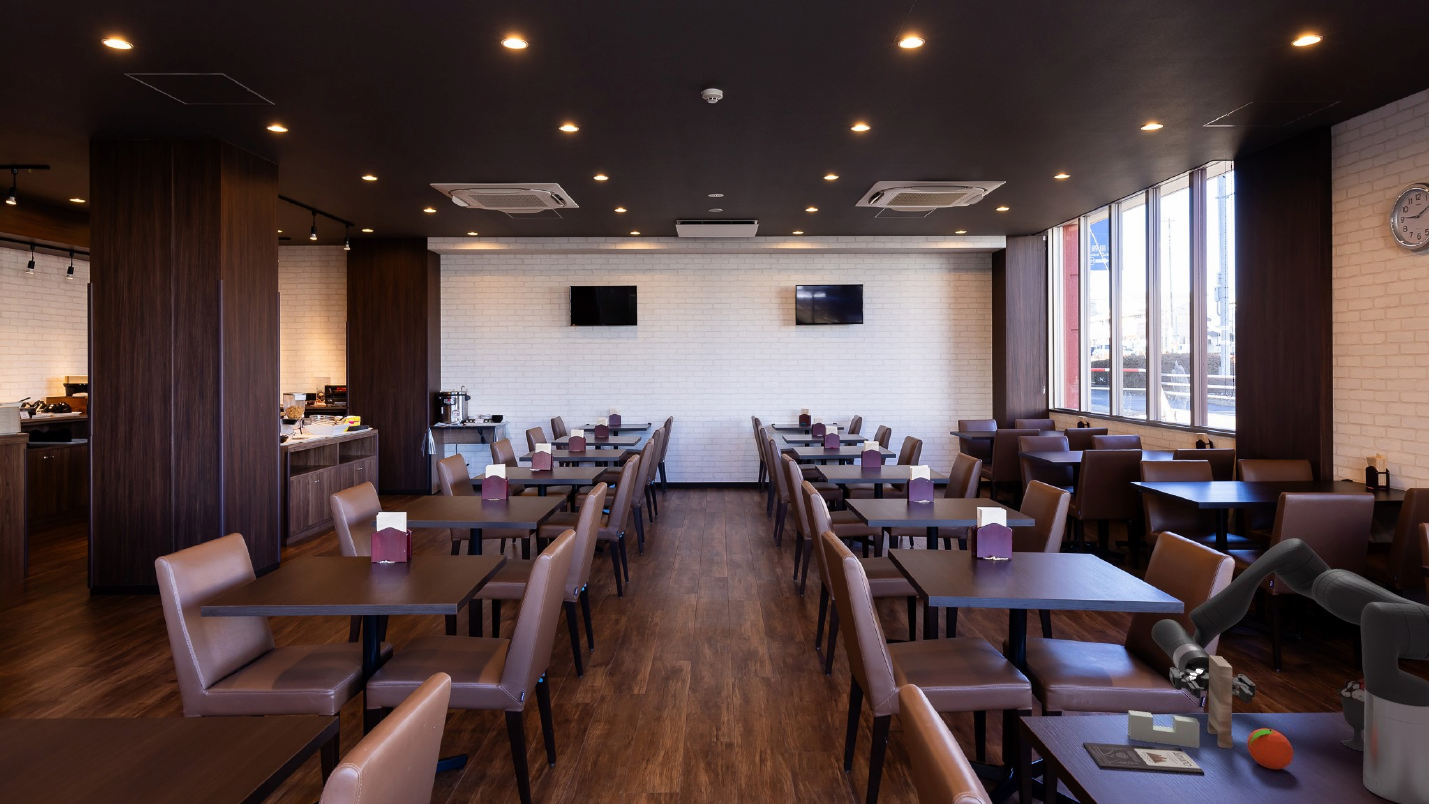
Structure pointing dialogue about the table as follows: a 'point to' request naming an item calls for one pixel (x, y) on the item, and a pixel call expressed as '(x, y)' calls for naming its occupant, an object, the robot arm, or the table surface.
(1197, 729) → the slotted rail
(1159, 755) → the chocolate bar
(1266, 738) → the clementine
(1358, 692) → the sundae
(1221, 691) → the tapered block
